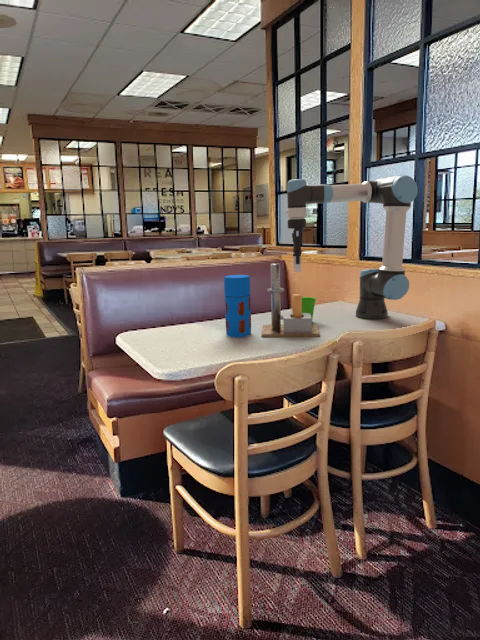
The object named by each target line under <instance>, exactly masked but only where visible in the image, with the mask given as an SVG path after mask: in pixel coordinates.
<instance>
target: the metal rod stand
mask: <svg viewBox="0 0 480 640" xmlns="http://www.w3.org/2000/svg"><path fill="white" fill-rule="evenodd" d="M284 291H285V288H283V287H281V263H270V287H269V288H267V293H270V302H271V303H270V306H271V307H270V308H271V309H270V311H271V316H270V317H271V324H262V329H261V338H289V337H290V338H300V337H301V338H303V337H305V338H306V337H309V338H310V337H313V338H314V337H318V338H319V337H320V335H321V334H320V331H319V328H318V324H317V323H314V324H313V323H312V322H313V318H311V315H310V313H302V317H292V312H291V313H290V312H289V313H288V312H287V313H283V314H282V313H281V311H282V310H281V293H284ZM281 321H283V324H282V322H281Z"/></svg>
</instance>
